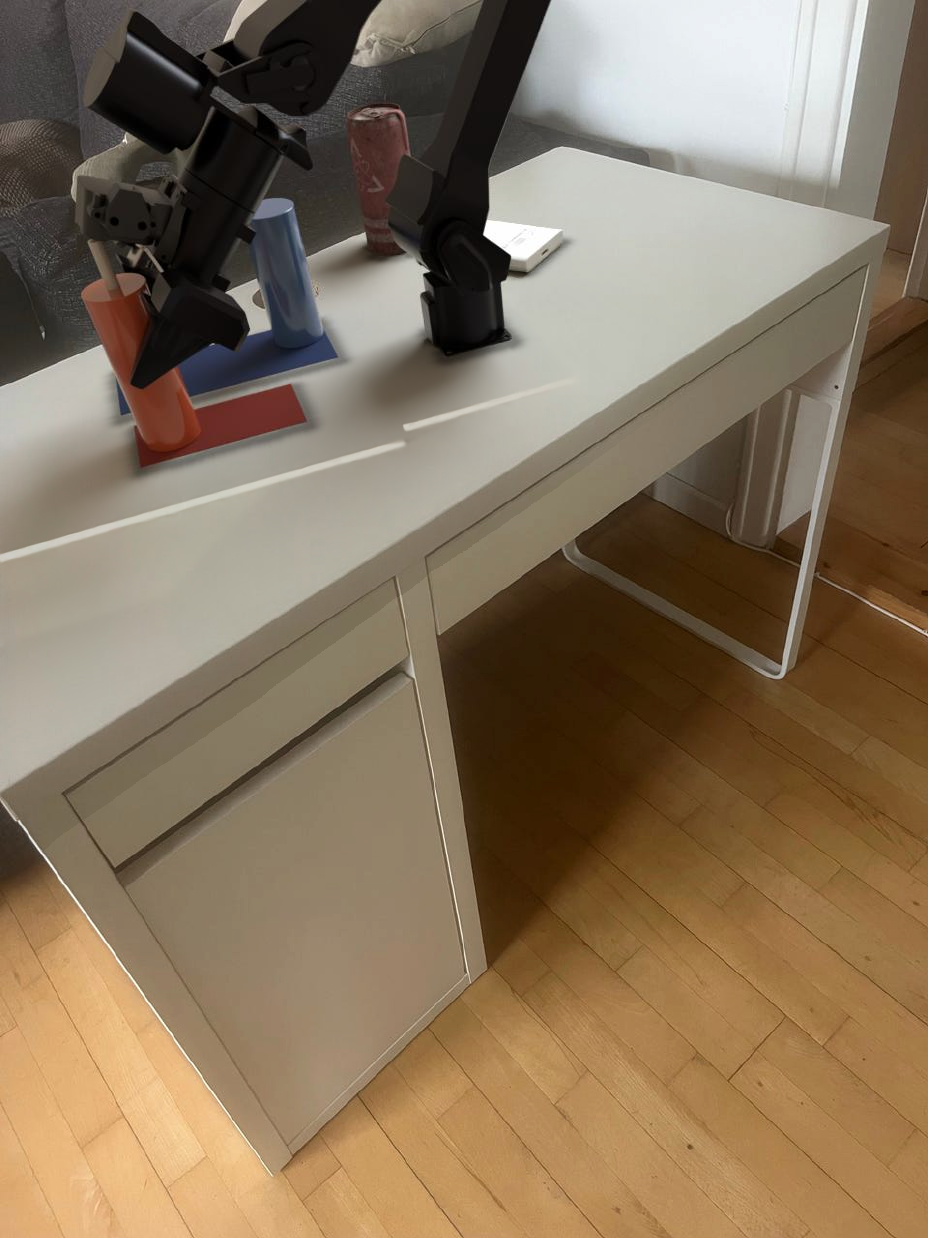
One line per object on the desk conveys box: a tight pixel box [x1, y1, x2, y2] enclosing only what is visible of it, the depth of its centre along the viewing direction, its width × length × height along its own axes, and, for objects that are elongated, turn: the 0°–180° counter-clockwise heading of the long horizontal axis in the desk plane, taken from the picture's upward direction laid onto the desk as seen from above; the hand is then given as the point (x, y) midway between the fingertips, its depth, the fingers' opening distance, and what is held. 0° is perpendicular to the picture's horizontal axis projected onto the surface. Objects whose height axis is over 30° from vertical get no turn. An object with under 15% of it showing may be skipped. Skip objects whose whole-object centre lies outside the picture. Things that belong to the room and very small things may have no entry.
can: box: [345, 102, 411, 257], centre depth 96 cm, size 6×6×14 cm
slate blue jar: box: [246, 197, 324, 348], centre depth 82 cm, size 5×5×12 cm
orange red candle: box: [80, 239, 201, 452], centre depth 70 cm, size 5×5×16 cm
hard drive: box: [484, 219, 564, 273], centre depth 97 cm, size 2×8×12 cm
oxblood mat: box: [133, 383, 308, 468], centre depth 77 cm, size 14×7×1 cm, turn 109°
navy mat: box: [115, 328, 339, 416], centre depth 84 cm, size 20×9×1 cm, turn 109°
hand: (128, 372), depth 71 cm, fingers closed on orange red candle, 5 cm apart
